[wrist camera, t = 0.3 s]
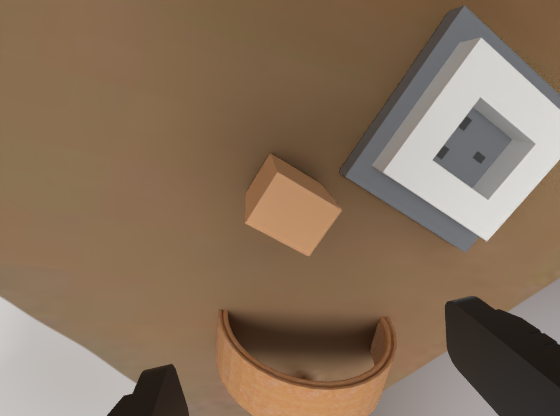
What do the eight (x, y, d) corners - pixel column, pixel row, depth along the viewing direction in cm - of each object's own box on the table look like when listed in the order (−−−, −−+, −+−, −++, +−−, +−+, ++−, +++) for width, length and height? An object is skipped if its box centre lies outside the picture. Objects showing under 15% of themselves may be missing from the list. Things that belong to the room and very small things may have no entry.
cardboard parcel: (269, 150, 29) (277, 171, 21) (318, 180, 30) (341, 210, 23) (245, 190, 30) (245, 223, 22) (293, 217, 31) (308, 256, 24)
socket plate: (448, 11, 26) (487, -4, 22) (563, 115, 30) (613, 119, 26) (339, 171, 30) (353, 184, 26) (453, 243, 34) (482, 264, 30)
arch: (219, 307, 34) (209, 387, 25) (388, 315, 37) (435, 390, 28) (215, 347, 36) (204, 436, 27) (376, 353, 39) (416, 435, 30)
